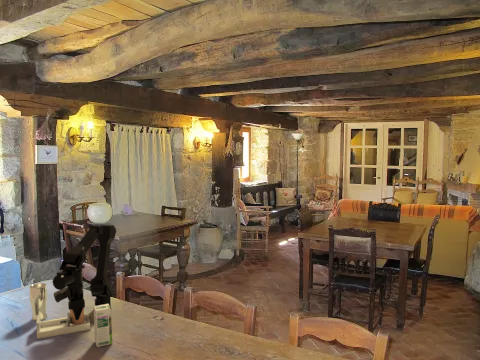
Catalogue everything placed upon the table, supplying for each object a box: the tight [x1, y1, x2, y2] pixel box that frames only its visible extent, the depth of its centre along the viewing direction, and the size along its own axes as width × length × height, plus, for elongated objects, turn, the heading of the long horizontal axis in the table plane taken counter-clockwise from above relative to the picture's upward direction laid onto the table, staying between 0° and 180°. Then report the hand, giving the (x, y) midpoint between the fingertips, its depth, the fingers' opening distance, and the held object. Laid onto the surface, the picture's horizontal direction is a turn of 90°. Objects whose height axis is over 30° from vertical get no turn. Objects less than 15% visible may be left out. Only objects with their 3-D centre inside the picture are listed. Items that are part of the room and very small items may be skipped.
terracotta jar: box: [69, 307, 85, 325], centre depth 175 cm, size 6×6×8 cm
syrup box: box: [92, 304, 113, 348], centre depth 161 cm, size 6×6×14 cm
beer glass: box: [29, 282, 48, 322], centre depth 183 cm, size 7×7×15 cm
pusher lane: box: [36, 313, 91, 340], centre depth 173 cm, size 20×11×6 cm, turn 113°
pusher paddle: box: [60, 312, 71, 327], centre depth 174 cm, size 4×8×4 cm, turn 23°
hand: (77, 317), depth 175 cm, fingers closed on terracotta jar, 5 cm apart
